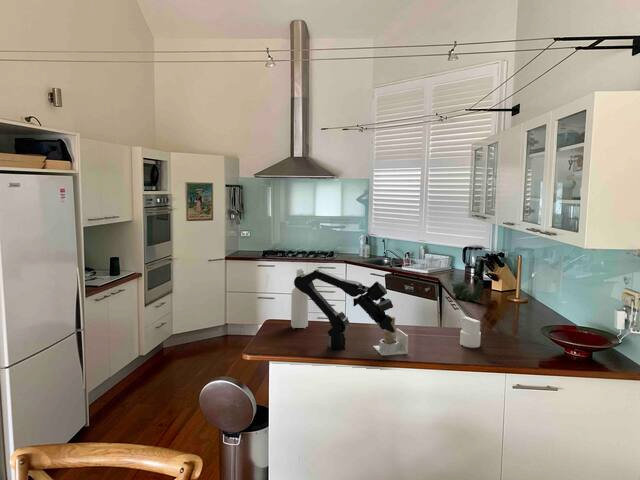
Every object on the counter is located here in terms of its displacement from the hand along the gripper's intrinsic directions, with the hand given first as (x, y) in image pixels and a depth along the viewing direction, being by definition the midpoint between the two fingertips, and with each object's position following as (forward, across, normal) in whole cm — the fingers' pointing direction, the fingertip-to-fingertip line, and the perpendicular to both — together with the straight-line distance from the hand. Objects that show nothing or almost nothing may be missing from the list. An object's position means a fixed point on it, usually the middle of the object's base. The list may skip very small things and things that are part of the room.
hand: (392, 330), depth 200 cm
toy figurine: (+64, +94, -51) cm, 125 cm away
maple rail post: (+4, 0, +6) cm, 7 cm away
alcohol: (-19, +40, +33) cm, 55 cm away
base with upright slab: (+34, +5, -22) cm, 41 cm away
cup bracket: (+6, 0, +7) cm, 9 cm away
